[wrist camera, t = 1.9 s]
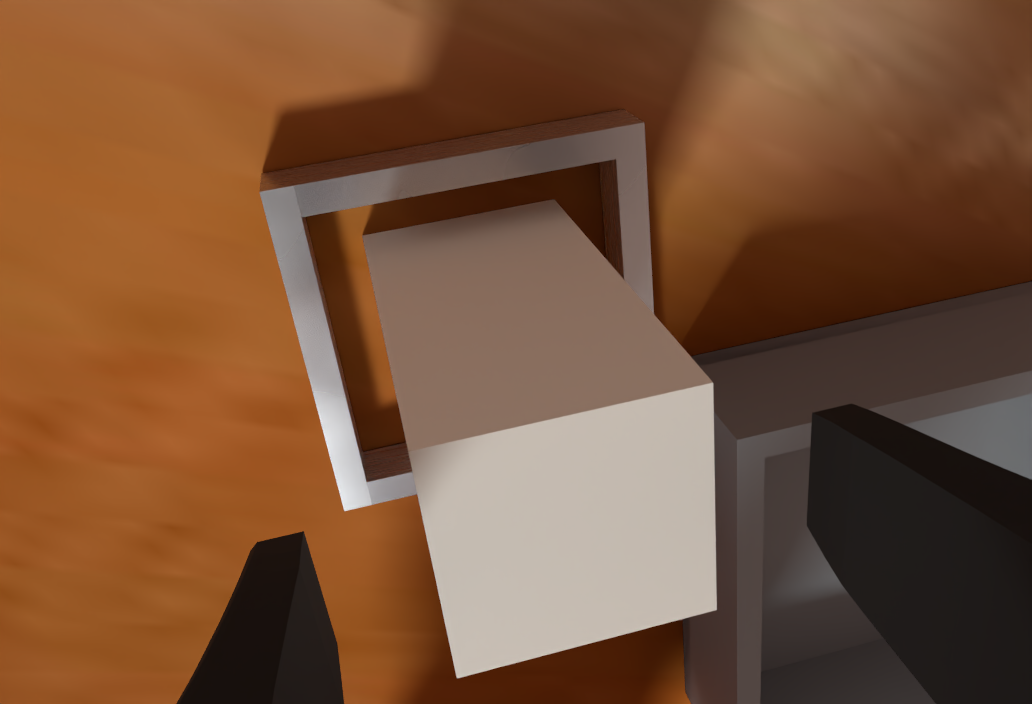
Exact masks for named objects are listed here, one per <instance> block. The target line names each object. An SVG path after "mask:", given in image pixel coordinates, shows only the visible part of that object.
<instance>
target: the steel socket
mask: <svg viewBox="0 0 1032 704" xmlns="http://www.w3.org/2000/svg"><path fill="white" fill-rule="evenodd" d="M597 162H599V171H600V184H601V197H602V210H603V223H604V237H605V250H606V260H607V261H608V262H609V263H610V264H611V265H612V266H613V268H614V269H615V270H616V271H617V272H618V273H619V275H620V276H621V277H622V278H623V279H624V280H625V281H626V283H627V284H628V285H629V286H630V287H631V288H632V290H633V291H634V292H635V293H636V294H637V295H638V296H639V298H640V299H641V300H642V301H643V302H644V303H645V305H646V306H647V307H648V308H649V309H650V310H651V311H652V313H653V314H654V304H653V284H652V264H651V244H650V224H649V204H648V184H647V164H646V144H645V124H644V122H643V121H641V120H640V119H638V118H637V117H635V116H634V115H632V114H631V113H629V112H628V111H626V110H624V109H622V110H616V111H610V112H605V113H599V114H593V115H588V116H582V117H577V118H571V119H565V120H560V121H554V122H548V123H543V124H537V125H532V126H526V127H520V128H515V129H509V130H503V131H498V132H492V133H487V134H481V135H475V136H470V137H464V138H458V139H453V140H447V141H442V142H436V143H430V144H425V145H419V146H413V147H408V148H402V149H397V150H391V151H385V152H380V153H374V154H368V155H363V156H357V157H352V158H346V159H340V160H335V161H329V162H323V163H318V164H312V165H307V166H301V167H295V168H290V169H284V170H278V171H273V172H267V173H262V174H261V183H260V195H261V199H262V203H263V207H264V210H265V214H266V218H267V222H268V225H269V229H270V233H271V237H272V240H273V244H274V248H275V252H276V255H277V259H278V263H279V267H280V271H281V274H282V278H283V282H284V286H285V289H286V293H287V297H288V301H289V304H290V308H291V312H292V316H293V319H294V323H295V327H296V331H297V334H298V338H299V342H300V346H301V350H302V353H303V357H304V361H305V365H306V368H307V372H308V376H309V380H310V383H311V387H312V391H313V395H314V398H315V402H316V406H317V410H318V413H319V417H320V421H321V425H322V428H323V432H324V436H325V440H326V444H327V447H328V451H329V455H330V459H331V462H332V466H333V470H334V474H335V477H336V481H337V485H338V489H339V492H340V496H341V500H342V504H343V507H344V511H347V510H351V509H355V508H360V507H364V506H368V505H373V504H377V503H381V502H386V501H390V500H394V499H398V498H403V497H407V496H411V495H416V494H417V490H416V486H415V481H414V476H413V472H412V467H411V462H410V458H409V453H408V448H407V444H406V442H405V443H401V444H396V445H392V446H387V447H383V448H378V449H374V450H369V451H365V452H362V447H361V443H360V439H359V435H358V431H357V427H356V423H355V419H354V415H353V411H352V406H351V402H350V398H349V394H348V390H347V386H346V382H345V378H344V374H343V370H342V365H341V361H340V357H339V353H338V349H337V345H336V341H335V337H334V333H333V329H332V324H331V320H330V316H329V312H328V308H327V304H326V300H325V296H324V292H323V288H322V283H321V279H320V275H319V271H318V267H317V263H316V259H315V255H314V251H313V247H312V243H311V238H310V234H309V230H308V226H307V222H306V218H305V217H306V216H312V215H317V214H323V213H328V212H333V211H339V210H344V209H350V208H355V207H360V206H366V205H371V204H377V203H382V202H387V201H393V200H398V199H403V198H409V197H414V196H420V195H425V194H430V193H436V192H441V191H447V190H452V189H457V188H463V187H468V186H473V185H479V184H484V183H490V182H495V181H500V180H506V179H511V178H517V177H522V176H527V175H533V174H538V173H544V172H549V171H554V170H560V169H565V168H570V167H576V166H581V165H587V164H592V163H597Z"/></svg>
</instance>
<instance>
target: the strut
mask: <svg viewBox="0 0 1032 704" xmlns="http://www.w3.org/2000/svg"><path fill="white" fill-rule="evenodd" d="M362 237H363V242H364V247H365V251H366V256H367V261H368V265H369V270H370V275H371V279H372V284H373V289H374V294H375V298H376V303H377V308H378V312H379V317H380V322H381V326H382V331H383V336H384V340H385V345H386V350H387V354H388V359H389V364H390V369H391V373H392V378H393V383H394V387H395V392H396V397H397V401H398V406H399V411H400V415H401V420H402V425H403V429H404V434H405V439H406V444H407V448H408V453H409V458H410V462H411V467H412V472H413V476H414V481H415V486H416V490H417V495H418V500H419V504H420V509H421V514H422V518H423V523H424V528H425V532H426V537H427V542H428V546H429V551H430V556H431V560H432V565H433V570H434V574H435V579H436V584H437V588H438V593H439V598H440V602H441V607H442V612H443V616H444V621H445V626H446V630H447V635H448V640H449V644H450V649H451V654H452V658H453V663H454V668H455V672H456V677H457V678H461V677H465V676H469V675H472V674H476V673H480V672H484V671H487V670H491V669H495V668H499V667H503V666H506V665H510V664H514V663H518V662H522V661H525V660H529V659H533V658H537V657H541V656H544V655H548V654H552V653H556V652H559V651H563V650H567V649H571V648H575V647H578V646H582V645H586V644H590V643H594V642H597V641H601V640H605V639H609V638H613V637H616V636H620V635H624V634H628V633H631V632H635V631H639V630H643V629H647V628H650V627H654V626H658V625H662V624H666V623H669V622H673V621H677V620H681V619H685V618H688V617H692V616H696V615H700V614H703V613H707V612H711V611H715V610H717V594H716V529H715V465H714V400H713V382H712V381H711V379H710V378H709V377H708V376H707V375H706V374H705V373H704V371H703V370H702V369H701V368H700V367H699V366H698V364H697V363H696V362H695V361H694V360H693V359H692V358H691V356H690V355H689V354H688V353H687V352H686V351H685V349H684V348H683V347H682V346H681V345H680V344H679V343H678V341H677V340H676V339H675V338H674V337H673V336H672V334H671V333H670V332H669V331H668V330H667V329H666V328H665V326H664V325H663V324H662V323H661V322H660V321H659V319H658V318H657V317H656V316H655V315H654V314H653V313H652V311H651V310H650V309H649V308H648V307H647V306H646V305H645V303H644V302H643V301H642V300H641V299H640V298H639V296H638V295H637V294H636V293H635V292H634V291H633V290H632V288H631V287H630V286H629V285H628V284H627V283H626V281H625V280H624V279H623V278H622V277H621V276H620V275H619V273H618V272H617V271H616V270H615V269H614V268H613V266H612V265H611V264H610V263H609V262H608V261H607V260H606V258H605V257H604V256H603V255H602V254H601V253H600V251H599V250H598V249H597V248H596V247H595V246H594V245H593V243H592V242H591V241H590V240H589V239H588V238H587V236H586V235H585V234H584V233H583V232H582V231H581V230H580V228H579V227H578V226H577V225H576V224H575V223H574V221H573V220H572V219H571V218H570V217H569V216H568V215H567V213H566V212H565V211H564V210H563V209H562V208H561V206H560V205H559V204H558V203H557V202H556V201H555V200H554V199H552V200H547V201H542V202H536V203H531V204H526V205H521V206H516V207H510V208H505V209H500V210H495V211H489V212H484V213H479V214H474V215H468V216H463V217H458V218H453V219H447V220H442V221H437V222H432V223H426V224H421V225H416V226H411V227H405V228H400V229H395V230H390V231H384V232H379V233H374V234H369V235H363V236H362Z"/></svg>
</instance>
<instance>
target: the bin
mask: <svg viewBox="0 0 1032 704" xmlns="http://www.w3.org/2000/svg"><path fill="white" fill-rule="evenodd" d="M691 358H692V359H693V360H694V361H695V362H696V363H697V364H698V366H699V367H700V368H701V369H702V370H703V371H704V373H705V374H706V375H707V376H708V377H709V378H710V379H711V381H712V382H713V400H714V465H715V529H716V594H717V610H715V611H711V612H707V613H703V614H700V615H696V616H692V617H688V618H685V619H683V642H684V667H685V692H686V694H687V696H688V698H689V700H690V702H691V704H936V703H935V702H934V701H933V700H932V698H931V697H930V696H929V695H928V693H927V692H926V691H925V690H924V688H923V687H922V686H921V685H920V683H919V682H918V681H917V680H916V678H915V677H914V676H913V675H912V673H911V672H910V671H909V670H908V668H907V667H906V666H905V665H904V663H903V662H902V661H901V660H900V658H899V657H898V656H897V655H896V653H895V652H894V651H893V650H892V648H891V647H890V646H889V645H888V643H887V642H886V641H885V640H884V638H883V637H882V636H881V635H880V633H879V632H878V631H877V630H876V628H875V627H874V626H873V624H872V623H871V622H870V621H869V619H868V618H867V617H866V615H865V614H864V613H863V612H862V610H861V609H860V608H859V607H858V605H857V604H856V603H855V601H854V600H853V599H852V598H851V596H850V595H849V594H848V592H847V591H846V590H845V588H844V587H843V586H842V584H841V583H840V581H839V580H838V578H837V576H836V575H835V573H834V572H833V570H832V568H831V567H830V565H829V563H828V562H827V560H826V559H825V557H824V555H823V553H822V552H821V550H820V548H819V546H818V545H817V543H816V541H815V539H814V538H813V536H812V534H811V532H810V531H809V529H808V527H807V505H808V485H809V465H810V445H811V425H812V413H813V412H817V411H821V410H826V409H830V408H834V407H839V406H843V405H847V404H851V403H852V404H855V405H857V406H860V407H863V408H865V409H868V410H871V411H873V412H876V413H878V414H880V415H883V416H885V417H887V418H890V419H892V420H894V421H897V422H899V423H901V424H904V425H906V426H908V427H910V428H913V429H915V430H917V431H919V432H922V433H924V434H926V435H928V436H931V437H933V438H935V439H937V440H940V441H942V442H944V443H946V444H949V445H951V446H953V447H955V448H958V449H960V450H962V451H965V452H967V453H969V454H971V455H974V456H976V457H978V458H981V459H983V460H985V461H988V462H990V463H992V464H995V465H997V466H1000V467H1002V468H1004V469H1007V470H1009V471H1012V472H1014V473H1017V474H1019V475H1022V476H1024V477H1026V478H1029V479H1031V480H1032V281H1031V282H1026V283H1022V284H1017V285H1013V286H1008V287H1004V288H999V289H995V290H990V291H985V292H981V293H976V294H972V295H967V296H963V297H958V298H954V299H949V300H945V301H940V302H936V303H931V304H926V305H922V306H917V307H913V308H908V309H904V310H899V311H895V312H890V313H886V314H881V315H877V316H872V317H867V318H863V319H858V320H854V321H849V322H845V323H840V324H836V325H831V326H827V327H822V328H817V329H813V330H808V331H804V332H799V333H795V334H790V335H786V336H781V337H777V338H772V339H768V340H763V341H758V342H754V343H749V344H745V345H740V346H736V347H731V348H727V349H722V350H718V351H713V352H709V353H704V354H699V355H695V356H691Z"/></svg>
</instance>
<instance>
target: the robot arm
mask: <svg viewBox="0 0 1032 704" xmlns="http://www.w3.org/2000/svg"><path fill="white" fill-rule="evenodd" d="M807 527H808V529H809V531H810V532H811V534H812V536H813V538H814V539H815V541H816V543H817V545H818V546H819V548H820V550H821V552H822V553H823V555H824V557H825V559H826V560H827V562H828V563H829V565H830V567H831V568H832V570H833V572H834V573H835V575H836V576H837V578H838V580H839V581H840V583H841V584H842V586H843V587H844V588H845V590H846V591H847V592H848V594H849V595H850V596H851V598H852V599H853V600H854V601H855V603H856V604H857V605H858V607H859V608H860V609H861V610H862V612H863V613H864V614H865V615H866V617H867V618H868V619H869V621H870V622H871V623H872V624H873V626H874V627H875V628H876V630H877V631H878V632H879V633H880V635H881V636H882V637H883V638H884V640H885V641H886V642H887V643H888V645H889V646H890V647H891V648H892V650H893V651H894V652H895V653H896V655H897V656H898V657H899V658H900V660H901V661H902V662H903V663H904V665H905V666H906V667H907V668H908V670H909V671H910V672H911V673H912V675H913V676H914V677H915V678H916V680H917V681H918V682H919V683H920V685H921V686H922V687H923V688H924V690H925V691H926V692H927V693H928V695H929V696H930V697H931V698H932V700H933V701H934V702H935V703H936V704H1032V480H1031V479H1029V478H1026V477H1024V476H1022V475H1019V474H1017V473H1014V472H1012V471H1009V470H1007V469H1004V468H1002V467H1000V466H997V465H995V464H992V463H990V462H988V461H985V460H983V459H981V458H978V457H976V456H974V455H971V454H969V453H967V452H965V451H962V450H960V449H958V448H955V447H953V446H951V445H949V444H946V443H944V442H942V441H940V440H937V439H935V438H933V437H931V436H928V435H926V434H924V433H922V432H919V431H917V430H915V429H913V428H910V427H908V426H906V425H904V424H901V423H899V422H897V421H894V420H892V419H890V418H887V417H885V416H883V415H880V414H878V413H876V412H873V411H871V410H868V409H865V408H863V407H860V406H857V405H855V404H852V403H851V404H847V405H843V406H839V407H834V408H830V409H826V410H821V411H817V412H813V413H812V425H811V445H810V465H809V485H808V505H807ZM177 704H344V700H343V690H342V681H341V672H340V664H339V655H338V647H337V641H336V638H335V635H334V631H333V628H332V625H331V621H330V618H329V615H328V611H327V608H326V605H325V601H324V598H323V595H322V591H321V588H320V585H319V581H318V578H317V574H316V571H315V568H314V564H313V561H312V558H311V554H310V551H309V548H308V544H307V541H306V538H305V534H304V531H303V532H299V533H295V534H291V535H286V536H282V537H278V538H274V539H269V540H265V541H261V542H257V543H256V544H255V546H254V547H253V548H252V550H251V551H250V553H249V556H248V559H247V561H246V564H245V566H244V568H243V571H242V573H241V576H240V578H239V580H238V583H237V585H236V587H235V590H234V592H233V594H232V596H231V599H230V601H229V603H228V605H227V607H226V609H225V612H224V614H223V616H222V618H221V620H220V622H219V624H218V626H217V628H216V630H215V632H214V634H213V636H212V638H211V640H210V642H209V644H208V646H207V648H206V650H205V652H204V654H203V656H202V658H201V660H200V662H199V664H198V666H197V668H196V670H195V672H194V674H193V676H192V677H191V679H190V681H189V683H188V685H187V686H186V688H185V690H184V692H183V693H182V695H181V697H180V698H179V700H178V702H177Z"/></svg>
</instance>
